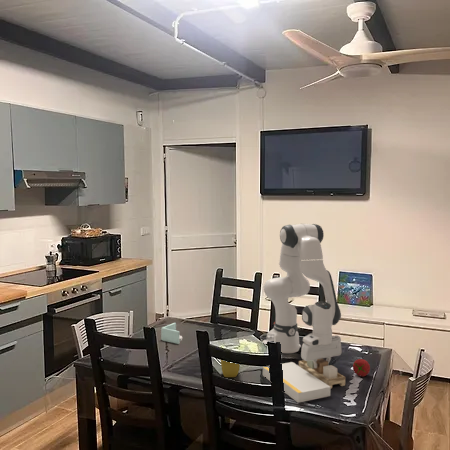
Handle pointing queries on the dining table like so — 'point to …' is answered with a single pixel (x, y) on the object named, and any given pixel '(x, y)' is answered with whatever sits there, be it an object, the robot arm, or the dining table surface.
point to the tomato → (361, 367)
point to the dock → (300, 383)
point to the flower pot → (229, 369)
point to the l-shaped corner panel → (170, 334)
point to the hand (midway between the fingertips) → (321, 366)
